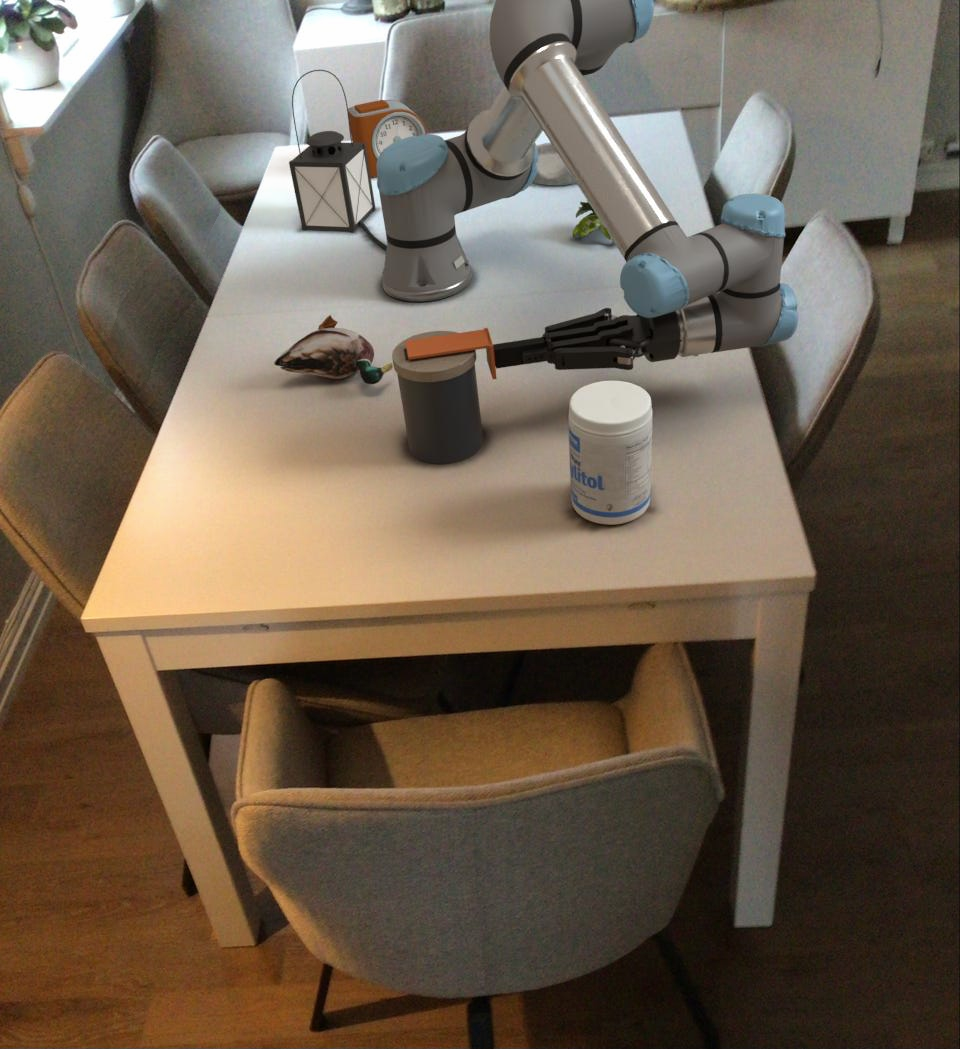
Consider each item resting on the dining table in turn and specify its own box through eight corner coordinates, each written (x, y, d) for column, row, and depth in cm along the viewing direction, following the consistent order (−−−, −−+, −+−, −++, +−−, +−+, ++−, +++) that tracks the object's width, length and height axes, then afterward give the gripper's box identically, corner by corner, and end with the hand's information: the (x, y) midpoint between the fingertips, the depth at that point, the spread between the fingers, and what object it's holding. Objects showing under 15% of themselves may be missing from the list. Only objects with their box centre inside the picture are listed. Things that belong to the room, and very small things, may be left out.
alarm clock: (365, 180, 227) (355, 114, 219) (354, 168, 234) (344, 104, 226) (431, 165, 231) (423, 100, 223) (419, 153, 237) (411, 90, 229)
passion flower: (612, 256, 199) (648, 197, 195) (621, 270, 189) (659, 208, 185) (560, 226, 196) (595, 165, 192) (566, 239, 187) (603, 175, 182)
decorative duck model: (397, 351, 153) (297, 380, 148) (400, 395, 158) (304, 424, 153) (356, 304, 163) (262, 329, 158) (361, 346, 168) (269, 372, 163)
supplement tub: (556, 510, 131) (549, 407, 122) (601, 472, 136) (598, 370, 127) (622, 538, 125) (620, 432, 117) (667, 497, 131) (668, 393, 122)
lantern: (376, 209, 214) (353, 61, 197) (354, 232, 206) (328, 79, 189) (325, 208, 217) (298, 61, 200) (301, 230, 209) (271, 79, 192)
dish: (595, 185, 213) (594, 160, 210) (525, 191, 214) (523, 166, 211) (590, 159, 224) (589, 135, 221) (524, 165, 225) (522, 141, 222)
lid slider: (490, 360, 141) (487, 327, 138) (496, 379, 137) (493, 345, 134) (410, 372, 141) (405, 339, 138) (413, 391, 137) (408, 358, 134)
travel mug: (479, 416, 149) (469, 324, 141) (490, 458, 141) (480, 363, 132) (403, 428, 149) (389, 336, 140) (410, 470, 140) (395, 376, 132)
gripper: (688, 379, 136) (504, 407, 135) (660, 332, 147) (489, 358, 146) (689, 325, 132) (499, 354, 131) (661, 281, 142) (484, 307, 141)
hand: (494, 356), depth 138 cm, fingers closed
